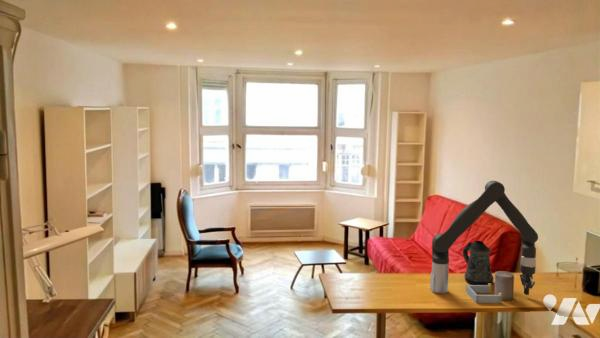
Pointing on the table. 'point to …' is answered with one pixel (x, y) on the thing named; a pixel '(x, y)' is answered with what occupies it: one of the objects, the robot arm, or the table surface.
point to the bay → (475, 289)
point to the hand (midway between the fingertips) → (526, 294)
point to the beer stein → (478, 264)
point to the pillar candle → (504, 284)
